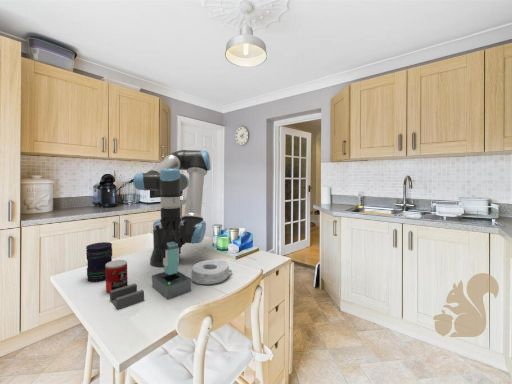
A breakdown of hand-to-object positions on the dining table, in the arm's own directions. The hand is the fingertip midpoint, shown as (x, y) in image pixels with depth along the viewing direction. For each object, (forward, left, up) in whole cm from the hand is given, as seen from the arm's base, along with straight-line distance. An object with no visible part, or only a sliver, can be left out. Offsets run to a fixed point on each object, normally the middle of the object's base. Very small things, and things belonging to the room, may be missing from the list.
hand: (171, 263), depth 99 cm
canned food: (-15, -16, -11) cm, 25 cm away
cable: (+1, +18, -11) cm, 22 cm away
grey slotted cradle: (-3, -16, -11) cm, 20 cm away
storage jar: (-32, -18, -11) cm, 38 cm away
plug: (0, 0, -4) cm, 4 cm away
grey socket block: (0, 0, -11) cm, 11 cm away
